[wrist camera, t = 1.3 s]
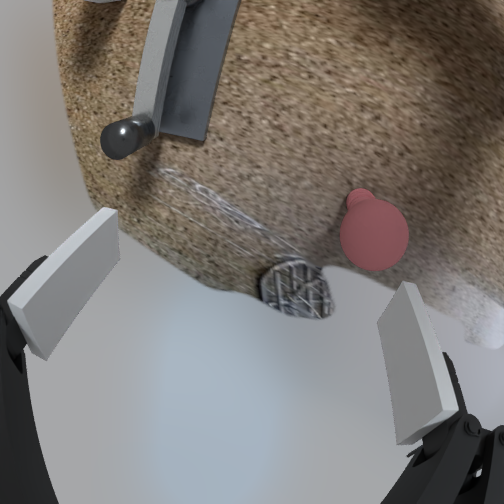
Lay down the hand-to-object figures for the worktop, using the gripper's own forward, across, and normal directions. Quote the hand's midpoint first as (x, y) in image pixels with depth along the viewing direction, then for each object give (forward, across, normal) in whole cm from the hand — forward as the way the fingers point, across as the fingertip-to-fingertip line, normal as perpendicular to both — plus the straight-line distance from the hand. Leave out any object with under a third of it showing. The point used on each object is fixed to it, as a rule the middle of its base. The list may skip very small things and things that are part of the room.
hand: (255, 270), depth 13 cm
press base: (+24, -12, +12) cm, 30 cm away
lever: (+23, -14, +11) cm, 29 cm away
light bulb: (+24, +11, -4) cm, 27 cm away
